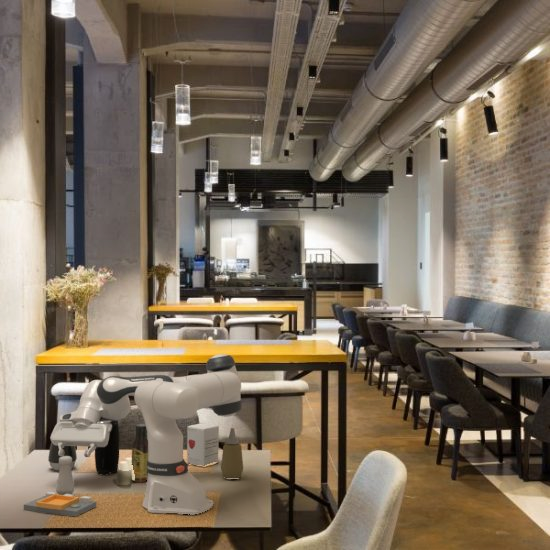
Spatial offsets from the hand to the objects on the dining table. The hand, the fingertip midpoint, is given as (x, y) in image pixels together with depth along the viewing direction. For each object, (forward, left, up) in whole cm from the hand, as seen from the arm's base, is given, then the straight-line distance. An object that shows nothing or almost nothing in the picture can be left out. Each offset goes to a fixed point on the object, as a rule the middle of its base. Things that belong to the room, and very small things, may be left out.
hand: (73, 455), depth 258 cm
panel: (-8, +19, -12) cm, 23 cm away
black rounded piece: (+20, -22, -12) cm, 32 cm away
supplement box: (-25, -49, -12) cm, 56 cm away
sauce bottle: (-15, -19, -12) cm, 27 cm away
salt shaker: (-2, +7, -12) cm, 14 cm away
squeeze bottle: (-44, -34, -12) cm, 57 cm away
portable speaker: (+2, -24, -12) cm, 27 cm away
